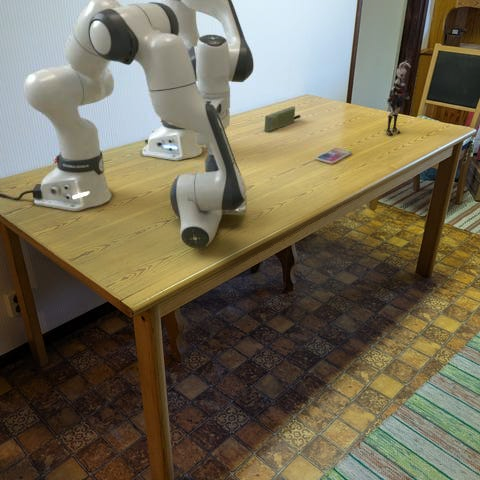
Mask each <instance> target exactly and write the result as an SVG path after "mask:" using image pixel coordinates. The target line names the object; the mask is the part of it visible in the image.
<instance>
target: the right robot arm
mask: <svg viewBox="0 0 480 480" xmlns="http://www.w3.org/2000/svg"><path fill="white" fill-rule="evenodd" d="M161 3H162V4H165V5H167V6H169V7H170V8H171V9H172V10H173V11H174V13H175V15H176V17H177V20H178V24H179V34H178V36H179V37H180V38H181V39H182V40H183V41H184V43H185V45H186V48H187V51H188V53H189V56H190V59H191V63H192V66H193V70H194V74H195V79H196V82H197V88H198V90H199V92H200V94H201V96H202V97H203V99H204V100H205V101H206V102H207V103H209V104H212V105H213V106H214V107H215V109H216V111H217V113H218V115H219V117H220V120H221V122H222V125H223V127H224V130H225V131H226V129H227V128H228V127H229V126H230V124H231V123H230V122H231V115H230V108H231V86H230V83H229V82H232V83H244V82H245V81H246V80H247V79H248V78H249V77H250V76H251V75H252V74H253V71H254V65H255V63H254V57H253V53H252V51H251V48H250V46H249V44H248V42H247V40H246V37H245V35H244V31H243V28H242V26H241V23H240V20H239V17H238V14H237V11H236V9H235V6H234V2H233V1H232V0H161ZM197 12H198V13H201V14H205V15H208V16H210V17H212V18H214V19H215V20H217V21H218V22H220V24H221V27H222V28H223V31H224V34H225V37H226V38H225V37H224V36H221V35H218V34H205V35H202V36H201V35H200V32H199V30H198V24H197ZM160 123H161V125H159V127H157V128H156V129H155V130H152V132H151V133H150V135H149V136H148V139H145V140H144V142H145V143H147V145H145V146H144V147H143V148H142V150H141V155H142V156H145V157H152V158H157V159H164V160H170V161H176V162H178V161H182V160H185V159H190V158H191V159H192V158H196V157H198V156H200V155H202V153H203V149H202V148H203V147H202V146H206V150H207V149H208V151H207V155H208V154H210V155H213V152H212V149H211V147H210V144H209V142H208V140H207V139H206V138H205V137H204V136H203V135H201V134H199V133H197V132H195V131H192V130H189V129H185V128H181V127H177V126H173V125H171V124H169V123H167V122H165V121H163V120H162V119H161V118H160Z"/></svg>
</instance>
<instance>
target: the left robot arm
mask: <svg viewBox="0 0 480 480" xmlns="http://www.w3.org/2000/svg"><path fill="white" fill-rule="evenodd" d="M178 34H179V24H178V20H177V17H176V15H175V13H174V11H173V10H172V9H171V8H170V7H169V6H167V5H165V4H162V2H156V1H150V2H147V3H146V2H136V3H129V4H125V5H122V4H121V3H120V2H119V1H117V0H90V1H89V2H88V3H87V4H86V6H85V7H84V8H83V9H82V11H81V12H80V14H79V15H78V17H77V19H76V21H75V22H74V25H73V27H72V29H71V31H70V34H69V36H68V38H67V40H66V43H65V45H64V55H65V59H66V61H67V63H68V64H64V65H59V66H53V67H47V68H42V69H40V70H36V71H35V72H32V73H30V74H28V75H27V76H26V77H25V79H24V84H23V94H24V98H25V99H26V101H27V103H28V105H30V106H31V108H33V109H34V110H36V111H37V112H39V113H41V114H43V116H45V117H46V119H48V120H49V121H50V123H51V124H52V126H53V128H54V130H55V132H56V136H57V141H58V145H59V151H60V152H59V154H58V155H56V156H55V158H53V164H57V166H56V167H54V168H53V169H52V170H51V171H50V172H49V173H48V174H46V175H45V176H44V177H43V179H42V181H41V183H36V184H35V185H34V187H33V189H30V190H26V191H23V192H20V194H19V196H17V197H12V196H10V195H7V194H4V193H1V192H0V197H4V198H6V199H9V200H12V201H19V200H21V199H22V198H23V196H24V195H27V194H32V198H33V199H34V200H33V201H34V205H36V206H42V207H46V208H47V207H48V208H54V209H59V210H65V211H70V212H71V211H72V212H80V211H83V210H85V209H89V208H94V207H98V206H101V205H103V204H105V203H107V202H109V201H110V200H111V198H112V192H111V190H110V188H109V185H108V183H107V179H106V174H105V162H104V156H103V152H102V151H101V146H100V138H99V130H98V127H97V126H96V125H95V123H94V122H92V121H91V120H89V119H86V118H84V117H82V116H81V115H80V112H79V107H81V106H87V105H90V104H94V103H95V104H96V103H98V102H100V101H102V100H104V99H106V98H108V97H110V96H111V95H112V94H113V92H114V89H115V79H114V76H113V73H112V71H111V69H110V68H109V65H110V63H111V62H117V63H120V64H124V65H127V66H131V64H132V63H133V62H134V61H135V62H136V63H138V64H139V65H140V66H141V68H142V69H143V72H144V76H145V80H146V86H147V91H148V96H149V100H150V103H151V106H152V109H153V111H154V113H155V114H156V116H157V117H159V118H160V120H161V119H162V120H163V121H165V122H167V123H169V124H171V125H173V126H177V127H181V128H185V129H189V130H192V131H195V132H197V133H199V134H201V135H203V136H204V137H205V138H206V139H207V140H208V142H209V144H210V147H211V149H212V152H213V155H214V158H215V160H216V163H217V166H218V169H219V170H218V171H213V172H205V171H204V172H193V173H192V172H191V173H185V174H179V175H177V177H176V178H175V179H174V181H173V183H172V185H171V187H170V191H169V200H170V206H171V209H172V211H173V213H174V215H175V217H176V219H177V220H179V221H180V231H179V234H180V239H181V241H182V243H183V244H185V245H186V246H187V247H190V248H192V249H203V248H206V247H207V246H208V245H210V244H211V242H212V241H213V240H214V238H215V236H216V233H217V231H218V228H219V224H220V223H221V220H222V216H223V215H240V214H242V213H245V212H246V210H247V203H248V202H247V201H248V194H247V187H246V182H245V180H244V178H243V175H242V173H241V171H240V169H239V167H238V164H237V161H236V159H235V156H234V153H233V150H232V147H231V145H230V142H229V141H230V140H229V139H228V136H227V133H226V129H225V130H224V127H223V125H222V122H221V120H220V117H219V115H218V113H217V111H216V109H215V107H214V106H213V105H212V104H209V103H207V102H206V101H205V100H204V99H203V97H202V96H201V94H200V92H199V90H198V88H197V86H198V83H197V81H196V79H195V74H194V70H193V66H192V63H191V59H190V56H189V53H188V51H187V48H186V45H185V43H184V41H183V40H182V39H181V38H180V37H179V36H178Z"/></svg>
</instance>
